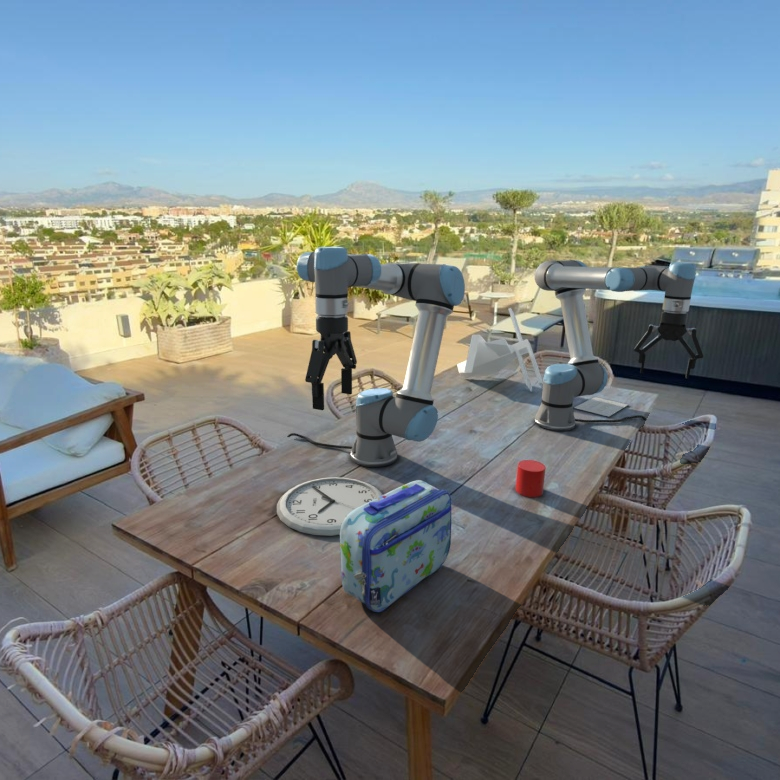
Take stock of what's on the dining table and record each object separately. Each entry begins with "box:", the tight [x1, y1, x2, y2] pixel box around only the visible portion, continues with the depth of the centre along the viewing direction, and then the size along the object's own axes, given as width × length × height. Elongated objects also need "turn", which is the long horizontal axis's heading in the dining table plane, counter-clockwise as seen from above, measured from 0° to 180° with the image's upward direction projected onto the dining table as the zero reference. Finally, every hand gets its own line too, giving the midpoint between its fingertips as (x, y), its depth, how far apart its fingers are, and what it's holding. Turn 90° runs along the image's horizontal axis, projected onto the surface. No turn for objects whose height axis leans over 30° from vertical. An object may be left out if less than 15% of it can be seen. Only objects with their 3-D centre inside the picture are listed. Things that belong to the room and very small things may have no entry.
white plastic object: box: [456, 307, 544, 393], centre depth 256 cm, size 37×45×31 cm
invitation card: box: [573, 396, 629, 418], centre depth 226 cm, size 21×1×15 cm
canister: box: [515, 459, 547, 498], centre depth 152 cm, size 8×8×8 cm
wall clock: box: [276, 476, 385, 537], centre depth 142 cm, size 30×2×30 cm
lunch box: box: [339, 479, 452, 613], centre depth 109 cm, size 26×11×21 cm, turn 134°
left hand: (333, 401), depth 129 cm, fingers open, 13 cm apart
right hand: (663, 375), depth 175 cm, fingers open, 13 cm apart
